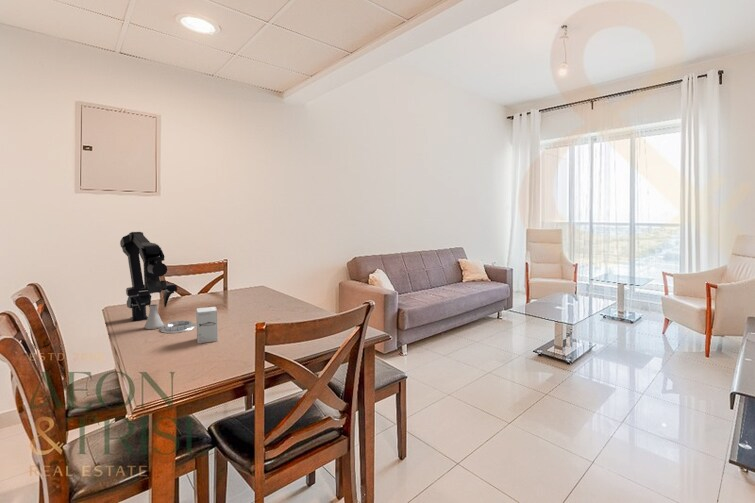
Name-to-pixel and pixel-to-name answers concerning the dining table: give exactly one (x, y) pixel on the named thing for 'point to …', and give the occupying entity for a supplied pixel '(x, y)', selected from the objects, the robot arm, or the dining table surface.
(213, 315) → the supplement box
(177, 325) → the duct flange
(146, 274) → the robot arm
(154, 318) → the flask
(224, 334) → the dining table surface
